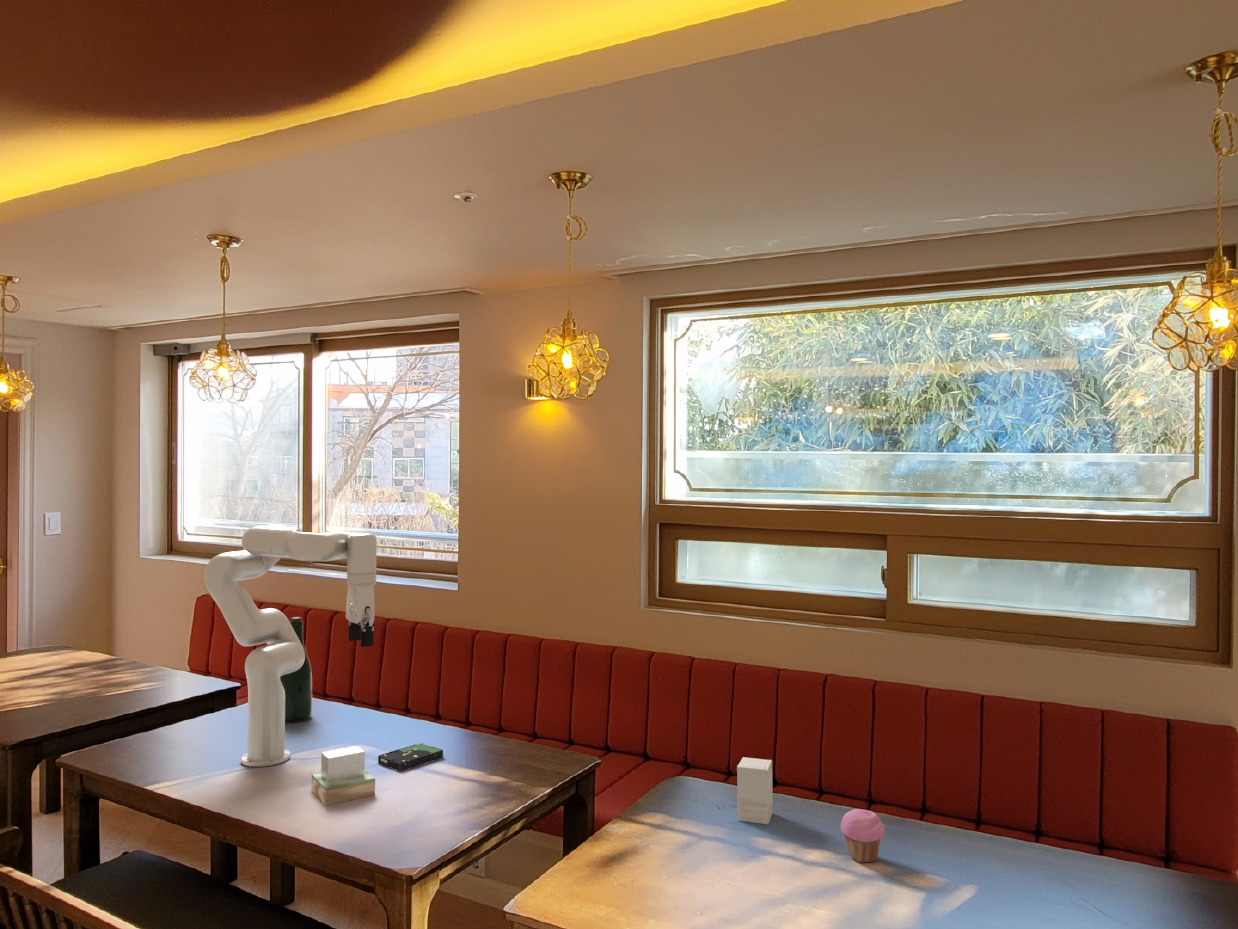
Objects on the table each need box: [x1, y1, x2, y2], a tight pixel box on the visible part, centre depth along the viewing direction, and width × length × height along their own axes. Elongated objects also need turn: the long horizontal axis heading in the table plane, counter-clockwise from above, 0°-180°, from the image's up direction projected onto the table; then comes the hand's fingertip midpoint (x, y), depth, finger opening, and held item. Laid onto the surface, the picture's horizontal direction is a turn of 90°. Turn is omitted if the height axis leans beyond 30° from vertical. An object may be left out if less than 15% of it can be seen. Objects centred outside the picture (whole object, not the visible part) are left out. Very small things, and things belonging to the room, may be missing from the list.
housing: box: [320, 745, 366, 783], centre depth 206 cm, size 9×6×6 cm, turn 126°
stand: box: [311, 768, 376, 806], centre depth 206 cm, size 12×12×4 cm
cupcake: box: [840, 808, 886, 863], centre depth 172 cm, size 9×9×10 cm
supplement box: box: [736, 756, 774, 825], centre depth 193 cm, size 7×7×13 cm
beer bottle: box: [280, 616, 313, 724], centre depth 268 cm, size 10×10×33 cm
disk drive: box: [377, 742, 444, 772], centre depth 229 cm, size 10×3×15 cm
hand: (360, 643), depth 221 cm, fingers open, 9 cm apart
